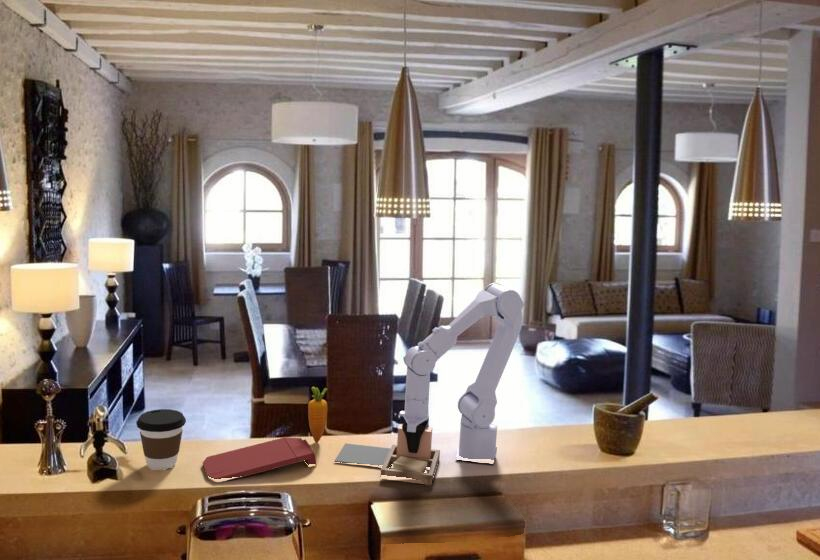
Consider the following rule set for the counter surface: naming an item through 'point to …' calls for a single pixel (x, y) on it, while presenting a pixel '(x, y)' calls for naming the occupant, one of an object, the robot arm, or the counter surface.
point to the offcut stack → (409, 464)
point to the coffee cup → (161, 437)
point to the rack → (424, 477)
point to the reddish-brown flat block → (259, 458)
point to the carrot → (317, 414)
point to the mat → (362, 454)
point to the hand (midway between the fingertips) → (414, 449)
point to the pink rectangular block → (424, 444)
